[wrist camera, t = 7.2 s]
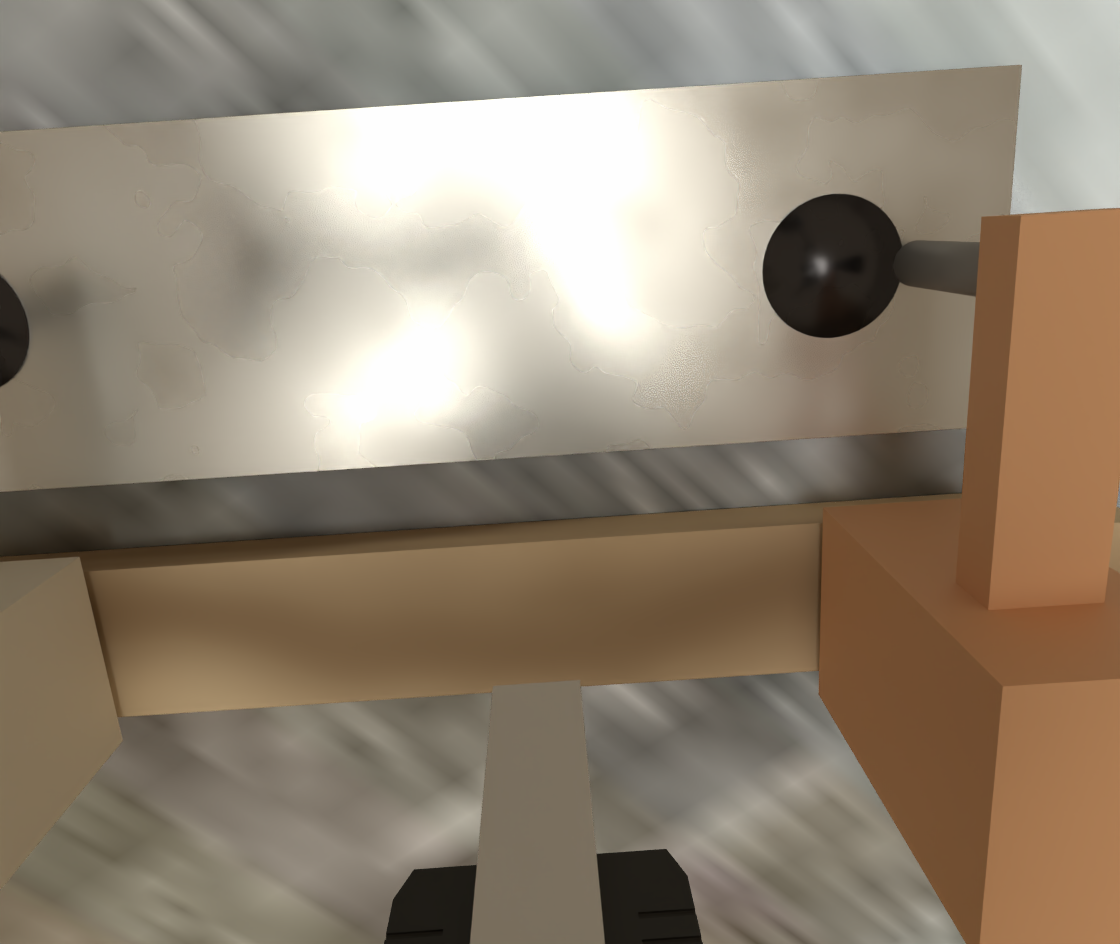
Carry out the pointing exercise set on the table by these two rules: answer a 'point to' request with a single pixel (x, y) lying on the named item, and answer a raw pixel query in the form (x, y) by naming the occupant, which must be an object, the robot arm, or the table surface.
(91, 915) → the table surface
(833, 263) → the hole plate
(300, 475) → the table surface
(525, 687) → the robot arm
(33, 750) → the fixed leg
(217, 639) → the rail
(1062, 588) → the slider leg
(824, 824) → the table surface
